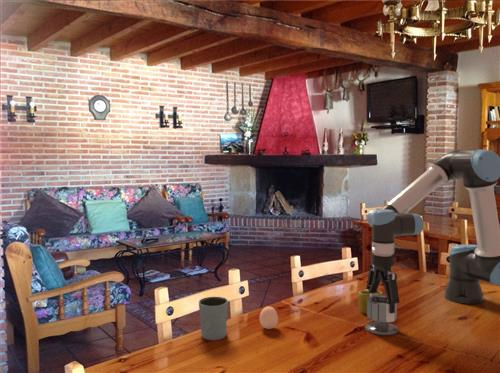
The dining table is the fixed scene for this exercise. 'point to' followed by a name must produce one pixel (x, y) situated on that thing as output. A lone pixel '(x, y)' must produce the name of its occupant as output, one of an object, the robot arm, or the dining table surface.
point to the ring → (378, 308)
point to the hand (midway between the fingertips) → (381, 315)
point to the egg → (268, 318)
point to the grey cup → (213, 317)
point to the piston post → (381, 328)
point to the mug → (365, 299)
